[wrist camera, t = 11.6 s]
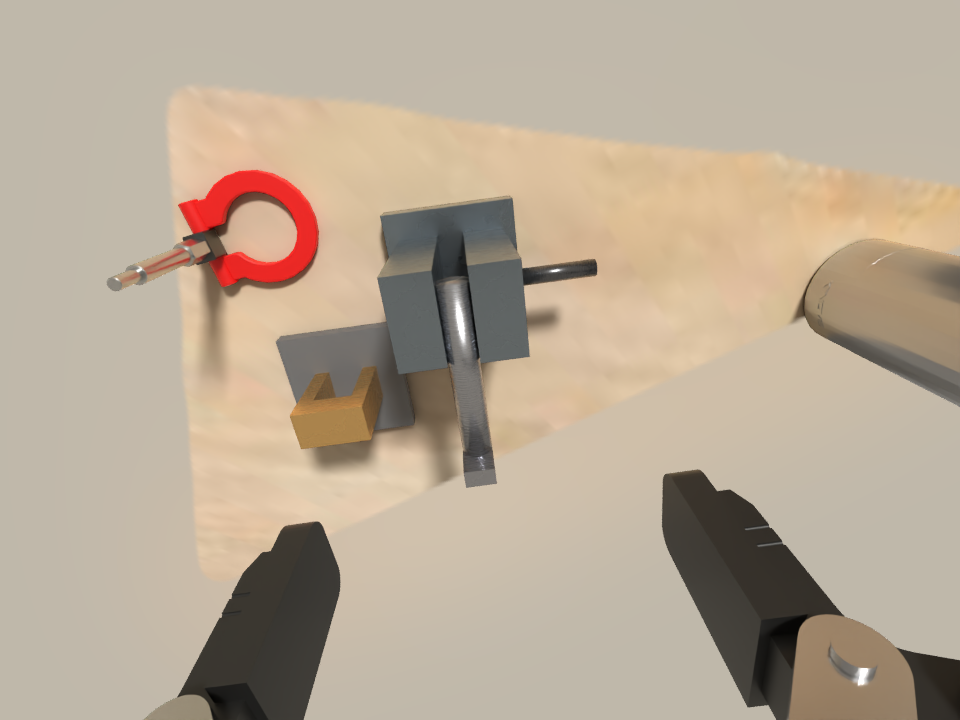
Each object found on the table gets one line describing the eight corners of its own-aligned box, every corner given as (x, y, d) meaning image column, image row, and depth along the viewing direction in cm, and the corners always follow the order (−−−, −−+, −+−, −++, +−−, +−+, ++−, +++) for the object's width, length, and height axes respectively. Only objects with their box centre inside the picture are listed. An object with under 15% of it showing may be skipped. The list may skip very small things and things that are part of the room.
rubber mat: (394, 320, 40) (392, 325, 39) (415, 418, 44) (414, 424, 43) (280, 336, 40) (275, 341, 39) (312, 431, 44) (308, 439, 43)
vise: (572, 187, 36) (640, 209, 23) (578, 368, 43) (634, 465, 30) (383, 212, 36) (344, 249, 23) (419, 389, 43) (405, 495, 30)
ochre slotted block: (376, 365, 40) (361, 406, 34) (383, 395, 42) (370, 439, 35) (315, 374, 40) (289, 416, 34) (324, 403, 42) (301, 449, 35)
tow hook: (292, 155, 35) (176, 191, 35) (223, 157, 23) (49, 210, 23) (336, 262, 38) (230, 294, 38) (295, 311, 27) (144, 356, 27)
